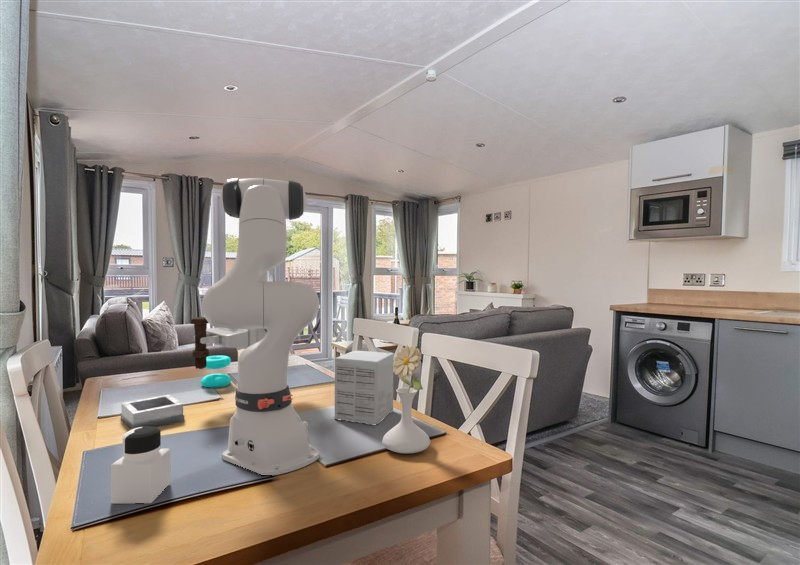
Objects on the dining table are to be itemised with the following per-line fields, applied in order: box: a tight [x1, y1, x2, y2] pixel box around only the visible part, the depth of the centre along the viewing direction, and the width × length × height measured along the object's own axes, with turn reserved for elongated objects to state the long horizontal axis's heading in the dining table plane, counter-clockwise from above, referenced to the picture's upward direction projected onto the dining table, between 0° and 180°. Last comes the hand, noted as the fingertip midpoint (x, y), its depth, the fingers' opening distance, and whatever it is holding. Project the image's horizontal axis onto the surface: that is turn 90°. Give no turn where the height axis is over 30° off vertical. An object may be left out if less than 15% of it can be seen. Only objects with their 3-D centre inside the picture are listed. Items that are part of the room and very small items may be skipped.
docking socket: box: [120, 394, 185, 430], centre depth 119 cm, size 14×12×4 cm
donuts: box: [200, 354, 232, 389], centre depth 155 cm, size 10×10×10 cm
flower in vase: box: [381, 344, 431, 455], centre depth 101 cm, size 13×11×25 cm
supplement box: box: [334, 349, 395, 425], centre depth 124 cm, size 13×13×18 cm
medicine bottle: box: [110, 426, 172, 505], centre depth 80 cm, size 7×7×12 cm
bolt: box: [190, 316, 210, 370], centre depth 128 cm, size 6×5×15 cm
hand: (197, 339), depth 128 cm, fingers closed on bolt, 3 cm apart
